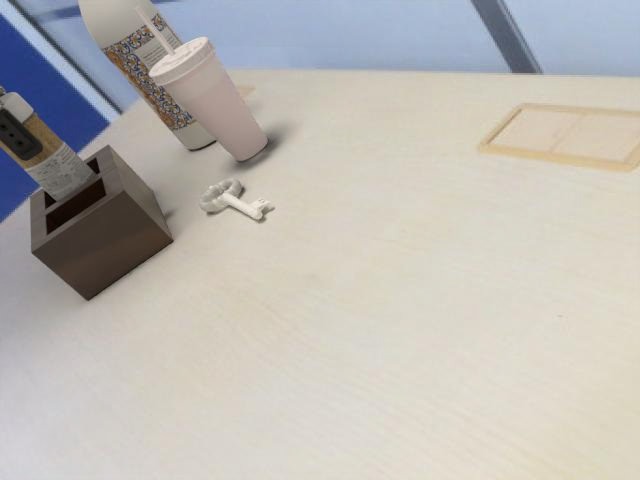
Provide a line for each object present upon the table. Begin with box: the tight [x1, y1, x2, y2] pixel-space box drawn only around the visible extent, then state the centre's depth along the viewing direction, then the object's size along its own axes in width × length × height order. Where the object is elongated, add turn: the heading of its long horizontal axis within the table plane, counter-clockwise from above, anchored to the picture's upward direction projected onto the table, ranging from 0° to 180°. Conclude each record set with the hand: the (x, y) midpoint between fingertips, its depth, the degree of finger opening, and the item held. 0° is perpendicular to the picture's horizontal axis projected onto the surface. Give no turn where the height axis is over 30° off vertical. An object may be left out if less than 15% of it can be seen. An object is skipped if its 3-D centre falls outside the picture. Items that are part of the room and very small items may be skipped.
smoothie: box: [134, 6, 269, 162], centre depth 69 cm, size 6×6×14 cm
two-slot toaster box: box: [29, 144, 174, 301], centre depth 70 cm, size 17×9×6 cm, turn 34°
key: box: [198, 177, 271, 220], centre depth 66 cm, size 12×1×4 cm
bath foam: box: [77, 0, 217, 150], centre depth 76 cm, size 7×7×20 cm
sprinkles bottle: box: [0, 91, 97, 201], centre depth 70 cm, size 5×5×13 cm
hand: (33, 147), depth 68 cm, fingers closed on sprinkles bottle, 4 cm apart
